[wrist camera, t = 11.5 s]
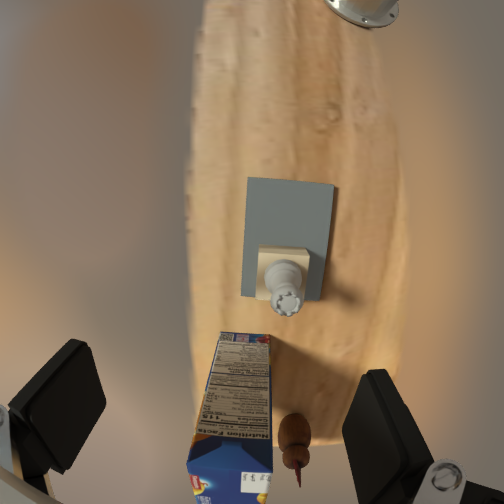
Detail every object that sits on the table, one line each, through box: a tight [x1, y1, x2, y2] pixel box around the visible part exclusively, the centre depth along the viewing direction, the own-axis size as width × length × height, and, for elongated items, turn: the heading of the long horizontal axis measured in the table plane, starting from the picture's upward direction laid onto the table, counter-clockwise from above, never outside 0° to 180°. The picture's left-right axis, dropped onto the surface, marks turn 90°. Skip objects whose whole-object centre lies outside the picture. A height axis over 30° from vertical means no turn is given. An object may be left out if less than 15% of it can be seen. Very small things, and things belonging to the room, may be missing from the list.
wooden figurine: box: [278, 414, 311, 487], centre depth 40 cm, size 7×6×15 cm
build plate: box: [241, 177, 334, 301], centre depth 37 cm, size 16×11×1 cm
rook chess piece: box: [264, 259, 304, 317], centre depth 30 cm, size 4×4×8 cm
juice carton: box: [186, 332, 273, 504], centre depth 32 cm, size 12×8×24 cm, turn 177°
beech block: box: [255, 244, 310, 300], centre depth 36 cm, size 6×6×4 cm
